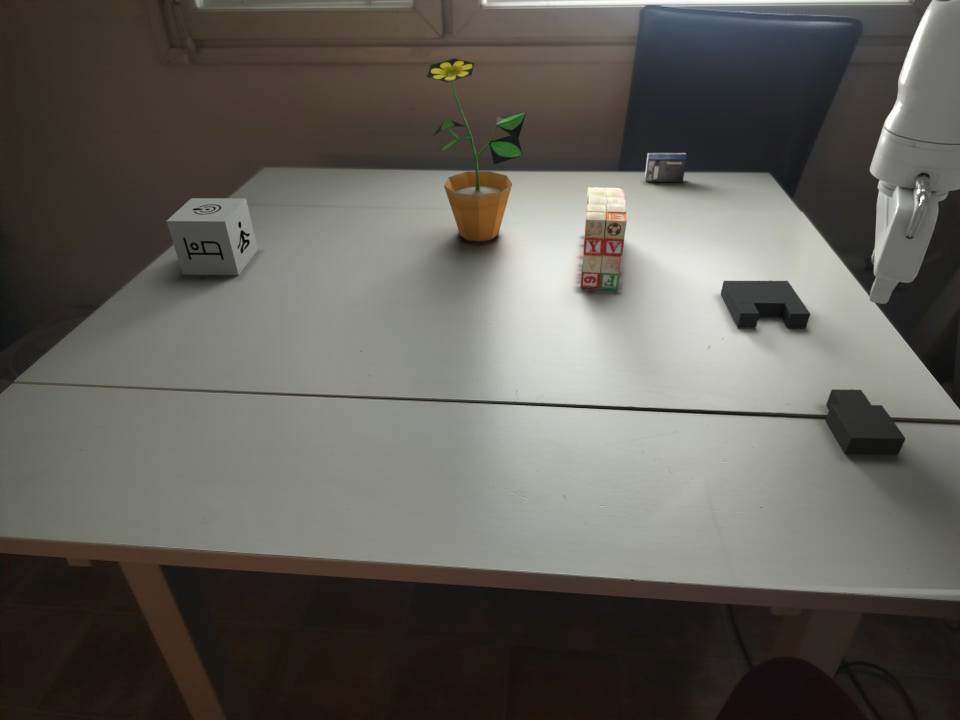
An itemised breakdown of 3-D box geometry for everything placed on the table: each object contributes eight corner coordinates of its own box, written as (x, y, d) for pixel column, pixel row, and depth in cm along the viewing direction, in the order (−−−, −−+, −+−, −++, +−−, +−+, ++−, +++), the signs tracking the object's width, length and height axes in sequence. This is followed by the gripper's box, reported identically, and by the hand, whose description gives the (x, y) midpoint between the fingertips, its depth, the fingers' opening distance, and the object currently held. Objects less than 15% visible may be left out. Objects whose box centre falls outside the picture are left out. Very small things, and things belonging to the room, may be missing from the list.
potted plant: (412, 233, 128) (397, 67, 111) (484, 207, 138) (482, 50, 121) (472, 264, 117) (466, 85, 100) (546, 233, 127) (553, 65, 110)
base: (783, 294, 107) (787, 280, 105) (806, 328, 98) (810, 313, 97) (720, 294, 107) (723, 280, 106) (737, 327, 99) (740, 313, 98)
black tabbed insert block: (864, 405, 84) (871, 389, 82) (898, 454, 76) (905, 438, 75) (816, 404, 84) (821, 389, 83) (844, 454, 77) (851, 437, 75)
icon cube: (183, 274, 116) (166, 221, 111) (205, 249, 125) (191, 198, 119) (238, 275, 116) (224, 221, 110) (257, 249, 124) (245, 198, 118)
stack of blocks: (584, 233, 127) (589, 170, 120) (617, 235, 126) (624, 171, 119) (580, 288, 110) (585, 218, 102) (618, 290, 109) (627, 220, 102)
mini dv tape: (645, 181, 148) (648, 155, 145) (644, 179, 150) (647, 152, 146) (682, 181, 148) (687, 155, 144) (681, 179, 149) (685, 152, 146)
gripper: (967, 200, 59) (912, 332, 67) (952, 135, 73) (908, 250, 81) (887, 190, 61) (842, 318, 69) (888, 129, 76) (851, 240, 84)
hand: (878, 281), depth 75 cm, fingers open, 8 cm apart
